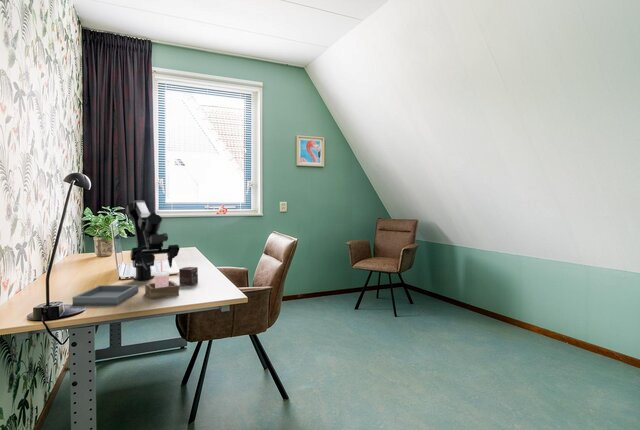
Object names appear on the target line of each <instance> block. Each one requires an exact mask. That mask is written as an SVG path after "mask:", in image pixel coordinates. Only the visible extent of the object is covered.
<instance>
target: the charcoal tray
mask: <svg viewBox="0 0 640 430" xmlns="http://www.w3.org/2000/svg"><path fill="white" fill-rule="evenodd" d="M138 293H139V285H138V284H134V285H133V284H132V285H130V284H124V285H120V284H115V285H114V284H113V285H111V284H109V285H107V284H106V285H105V284H104V285H103V284H100V285H99V284H98V285H97V286H94V287H92V288H90V289H88V290H85V291H83V292H81V293H79V294H77V295H75V296H73V297H72V306H118V305H120V304H122V303H123V302H125V301H127V300H128V299H130V298H132V297H134V296H135V295H137V294H138Z"/></svg>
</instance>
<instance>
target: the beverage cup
mask: <svg viewBox="0 0 640 430" xmlns="http://www.w3.org/2000/svg"><path fill="white" fill-rule="evenodd" d="M170 274H171V273H170V271H168V270H167V271H166V270H165V271H163V260H160V271H156V272H153V279H154V283H155V288H161V287H168V285H169V281H170Z"/></svg>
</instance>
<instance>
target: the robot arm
mask: <svg viewBox="0 0 640 430" xmlns="http://www.w3.org/2000/svg"><path fill="white" fill-rule="evenodd" d="M125 212H126V215H128V216H127V217H128V219H129V221H131V222H132V225H133V230H134V236H135V243H136V247H132V248H131V251H130V260H131V263H132V267H133V268H135V277H133V280H136V281H141V282H143V281H146V280H151V279H154V276H152V269H151V267H154V266H155V260H156V256H155V255H163V254H166V256H167V262H168V266H169V268H172V264H173V259H174V258H175V257H177V256H178V254H179V251H180V246H179V245H178V243H175V244H168V247H167V248H163V247H164V242H167V241H168V240H169V236H168V233H167V232H163V233H161V234H160V233H159V231H160V229H161V225H162V222H163V218H162V216H160V215H159V214H157V213H156V212H155V211H154V212H150V211H149V209H148V207H147V204H146V201H145V200H133V201H132V202H131V203H128V204H127V205H126V211H125Z"/></svg>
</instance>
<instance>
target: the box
mask: <svg viewBox="0 0 640 430" xmlns="http://www.w3.org/2000/svg"><path fill="white" fill-rule="evenodd" d="M178 271H179V273H178V275H179V278H178V279H179V283H178V284H179V286H190V287H191V286H194V285H196V284H198V283H199V274H198V273H199V272H198V267H196V266H195V267H194V266H185V267H181V268H179V269H178Z"/></svg>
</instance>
